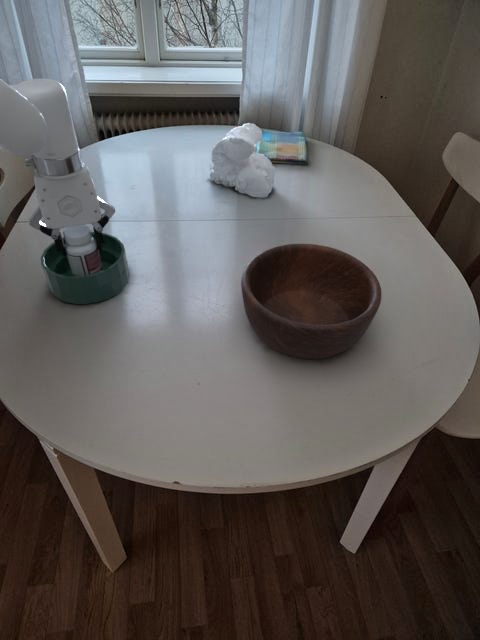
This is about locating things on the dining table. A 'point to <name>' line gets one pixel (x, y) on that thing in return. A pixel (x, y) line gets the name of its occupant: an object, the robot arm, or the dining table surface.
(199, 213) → the dining table surface
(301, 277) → the wooden bowl
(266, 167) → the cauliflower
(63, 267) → the green faceted bowl
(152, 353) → the dining table surface
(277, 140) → the colourful book
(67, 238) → the pill bottle
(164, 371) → the dining table surface
